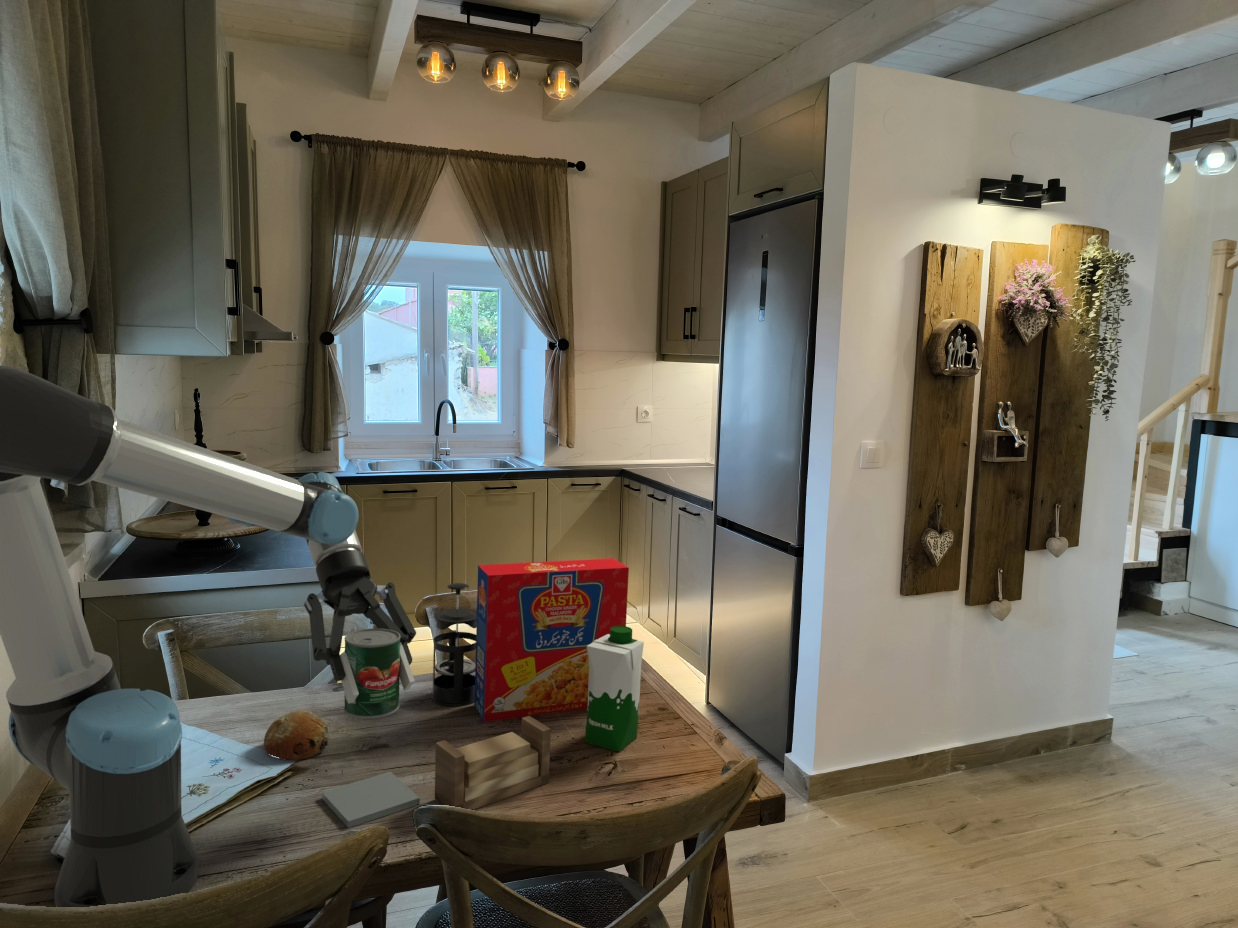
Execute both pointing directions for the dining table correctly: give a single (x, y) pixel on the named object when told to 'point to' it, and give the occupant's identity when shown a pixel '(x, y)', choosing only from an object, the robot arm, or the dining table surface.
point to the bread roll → (296, 736)
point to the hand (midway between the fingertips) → (382, 691)
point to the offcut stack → (497, 764)
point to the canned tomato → (374, 672)
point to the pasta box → (542, 633)
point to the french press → (454, 656)
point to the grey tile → (370, 799)
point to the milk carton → (613, 689)
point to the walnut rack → (452, 791)
